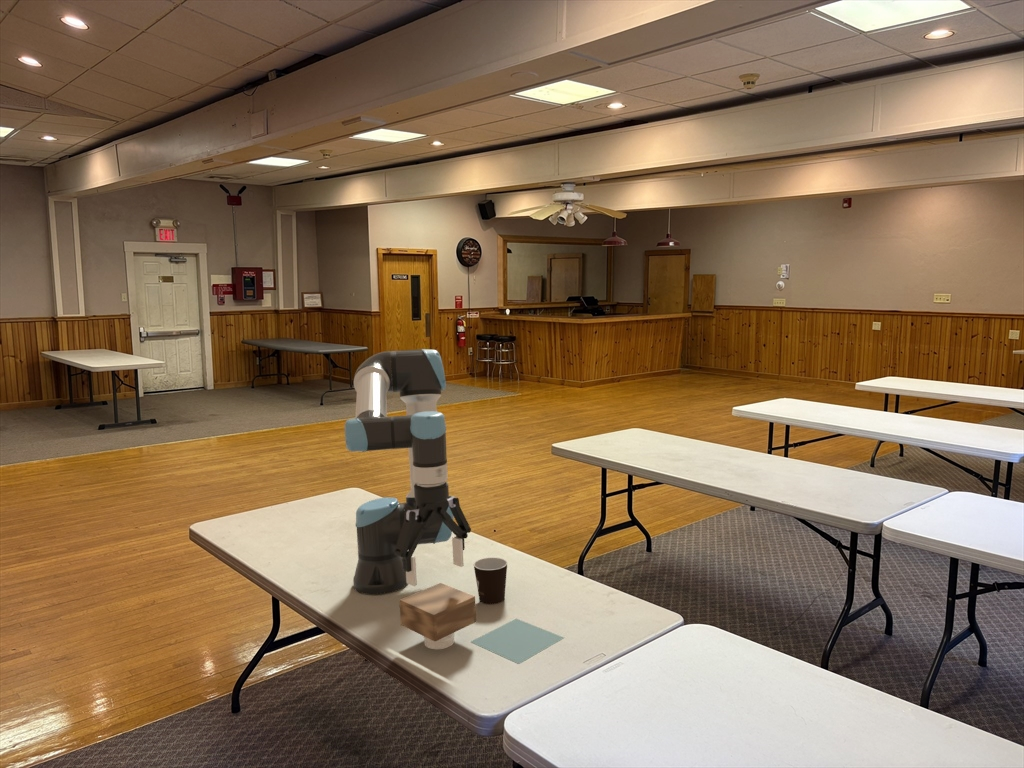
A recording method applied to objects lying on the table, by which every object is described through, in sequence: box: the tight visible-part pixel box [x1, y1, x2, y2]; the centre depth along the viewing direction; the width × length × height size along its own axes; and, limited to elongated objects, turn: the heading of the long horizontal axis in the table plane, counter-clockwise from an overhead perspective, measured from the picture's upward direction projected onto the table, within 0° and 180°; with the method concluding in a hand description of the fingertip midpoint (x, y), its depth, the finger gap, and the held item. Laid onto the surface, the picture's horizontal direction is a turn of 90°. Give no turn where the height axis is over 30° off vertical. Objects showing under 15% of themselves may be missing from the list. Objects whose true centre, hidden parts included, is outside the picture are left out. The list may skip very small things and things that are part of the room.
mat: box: [470, 618, 565, 665], centre depth 159 cm, size 15×15×1 cm
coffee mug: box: [473, 556, 508, 605], centre depth 182 cm, size 12×9×10 cm
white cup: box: [423, 632, 455, 650], centre depth 158 cm, size 8×8×10 cm
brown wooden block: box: [399, 582, 477, 641], centre depth 158 cm, size 12×12×6 cm
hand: (435, 574), depth 157 cm, fingers open, 13 cm apart
